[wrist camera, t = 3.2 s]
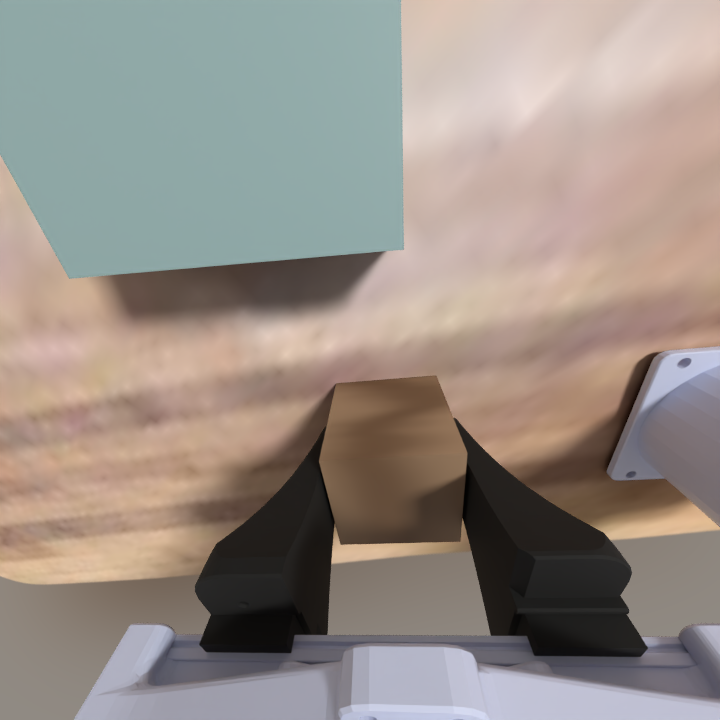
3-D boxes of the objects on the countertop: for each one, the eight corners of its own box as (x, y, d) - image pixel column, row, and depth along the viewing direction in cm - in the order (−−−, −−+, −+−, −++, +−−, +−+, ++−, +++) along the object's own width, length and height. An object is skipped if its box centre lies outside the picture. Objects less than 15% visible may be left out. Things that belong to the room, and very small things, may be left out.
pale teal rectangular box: (380, -217, 6) (392, -741, 3) (393, 239, 11) (403, 249, 7) (3, -136, 7) (-353, -480, 4) (160, 260, 12) (69, 278, 8)
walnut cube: (435, 375, 13) (467, 452, 9) (435, 450, 16) (460, 541, 11) (336, 383, 14) (318, 461, 9) (349, 455, 16) (340, 544, 12)
